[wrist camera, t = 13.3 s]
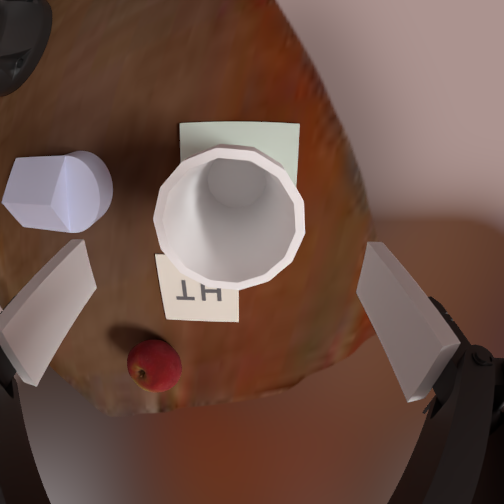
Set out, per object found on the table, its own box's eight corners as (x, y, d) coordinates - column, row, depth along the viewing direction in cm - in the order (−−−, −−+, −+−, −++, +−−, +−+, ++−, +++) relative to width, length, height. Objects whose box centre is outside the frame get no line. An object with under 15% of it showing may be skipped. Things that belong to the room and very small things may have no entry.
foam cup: (185, 141, 27) (140, 161, 15) (277, 128, 27) (298, 139, 15) (200, 226, 31) (174, 295, 20) (285, 216, 31) (306, 282, 19)
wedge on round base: (37, 217, 31) (114, 225, 32) (7, 237, 25) (88, 250, 26) (32, 152, 27) (113, 150, 28) (-2, 164, 21) (82, 161, 22)
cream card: (155, 253, 33) (154, 254, 33) (238, 254, 33) (238, 256, 33) (166, 318, 38) (166, 319, 38) (238, 320, 38) (238, 322, 38)
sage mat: (180, 123, 27) (179, 123, 26) (298, 123, 27) (299, 123, 26) (185, 230, 32) (184, 232, 32) (292, 231, 32) (292, 233, 32)
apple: (179, 328, 39) (168, 370, 32) (188, 365, 42) (181, 405, 35) (131, 326, 39) (113, 365, 32) (144, 362, 42) (132, 400, 35)
